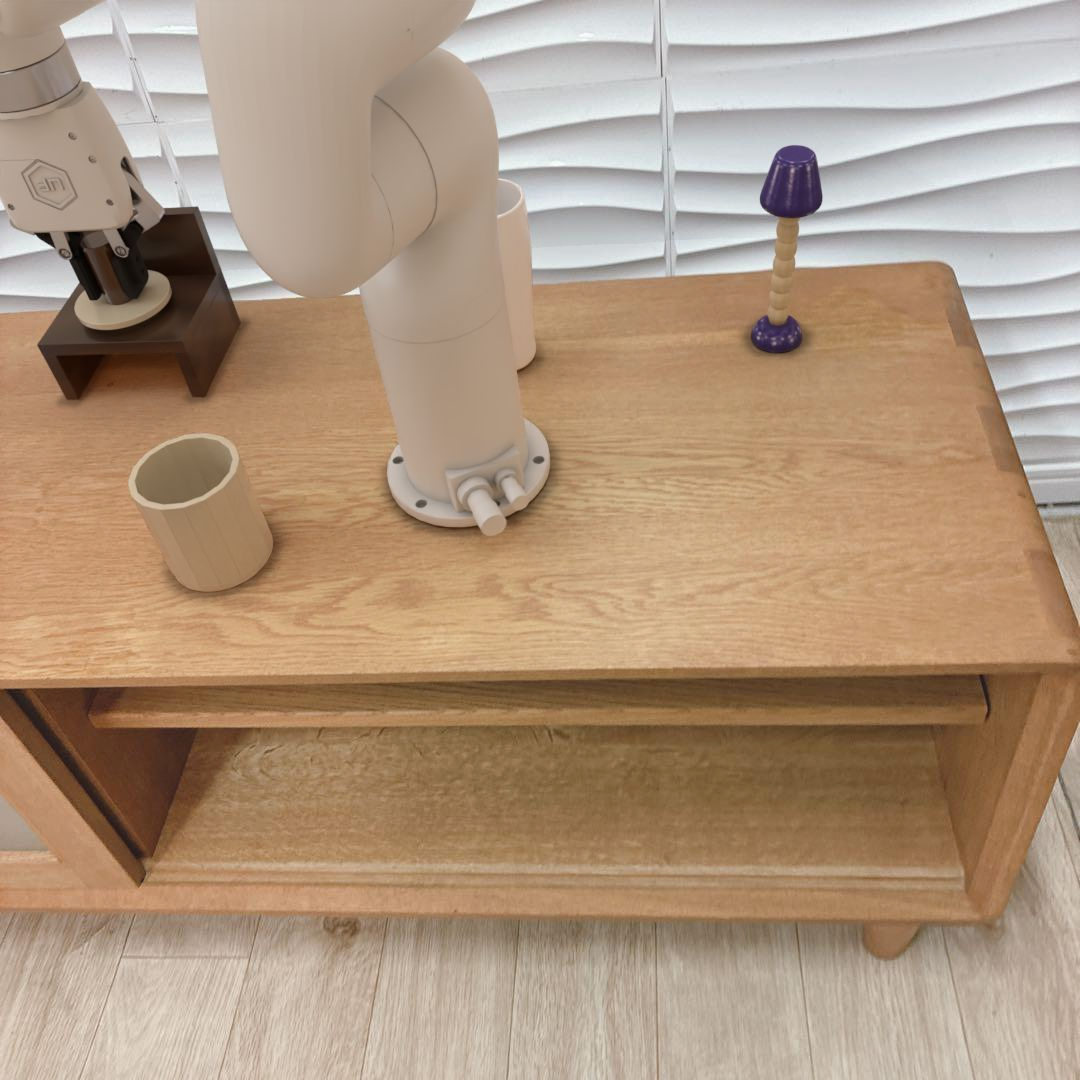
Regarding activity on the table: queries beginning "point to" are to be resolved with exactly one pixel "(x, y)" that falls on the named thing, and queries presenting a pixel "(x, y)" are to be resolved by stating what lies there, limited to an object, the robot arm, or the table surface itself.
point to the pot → (202, 511)
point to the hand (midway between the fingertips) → (119, 289)
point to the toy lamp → (786, 239)
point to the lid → (116, 291)
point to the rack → (180, 327)
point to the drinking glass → (516, 268)
